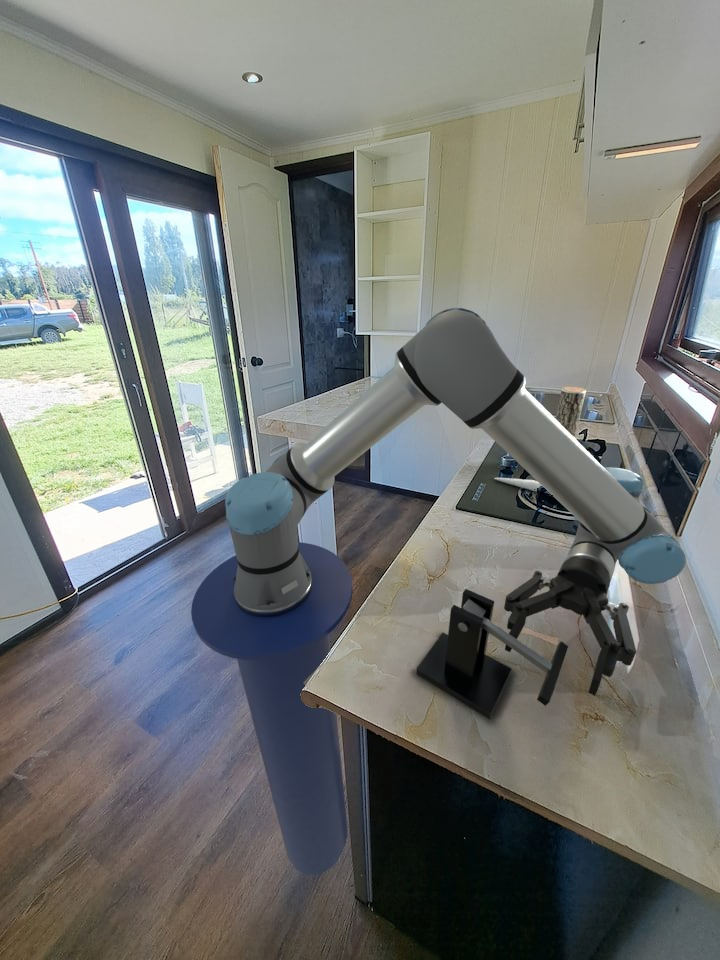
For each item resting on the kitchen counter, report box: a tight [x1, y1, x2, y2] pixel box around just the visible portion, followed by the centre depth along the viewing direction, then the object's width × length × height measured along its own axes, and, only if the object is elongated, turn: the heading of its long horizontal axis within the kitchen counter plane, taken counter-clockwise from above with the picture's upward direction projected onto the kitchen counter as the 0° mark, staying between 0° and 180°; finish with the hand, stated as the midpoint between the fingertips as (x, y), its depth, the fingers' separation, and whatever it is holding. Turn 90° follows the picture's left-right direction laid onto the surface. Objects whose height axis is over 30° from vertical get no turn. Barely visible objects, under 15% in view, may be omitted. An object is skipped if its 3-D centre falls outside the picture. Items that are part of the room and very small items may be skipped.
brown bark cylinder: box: [555, 386, 587, 439], centre depth 125 cm, size 7×7×25 cm
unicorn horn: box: [493, 477, 542, 493], centre depth 113 cm, size 5×24×5 cm, turn 48°
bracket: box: [415, 588, 513, 720], centre depth 58 cm, size 12×9×15 cm
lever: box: [462, 599, 569, 706], centre depth 53 cm, size 14×10×2 cm
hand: (548, 664), depth 51 cm, fingers open, 10 cm apart
